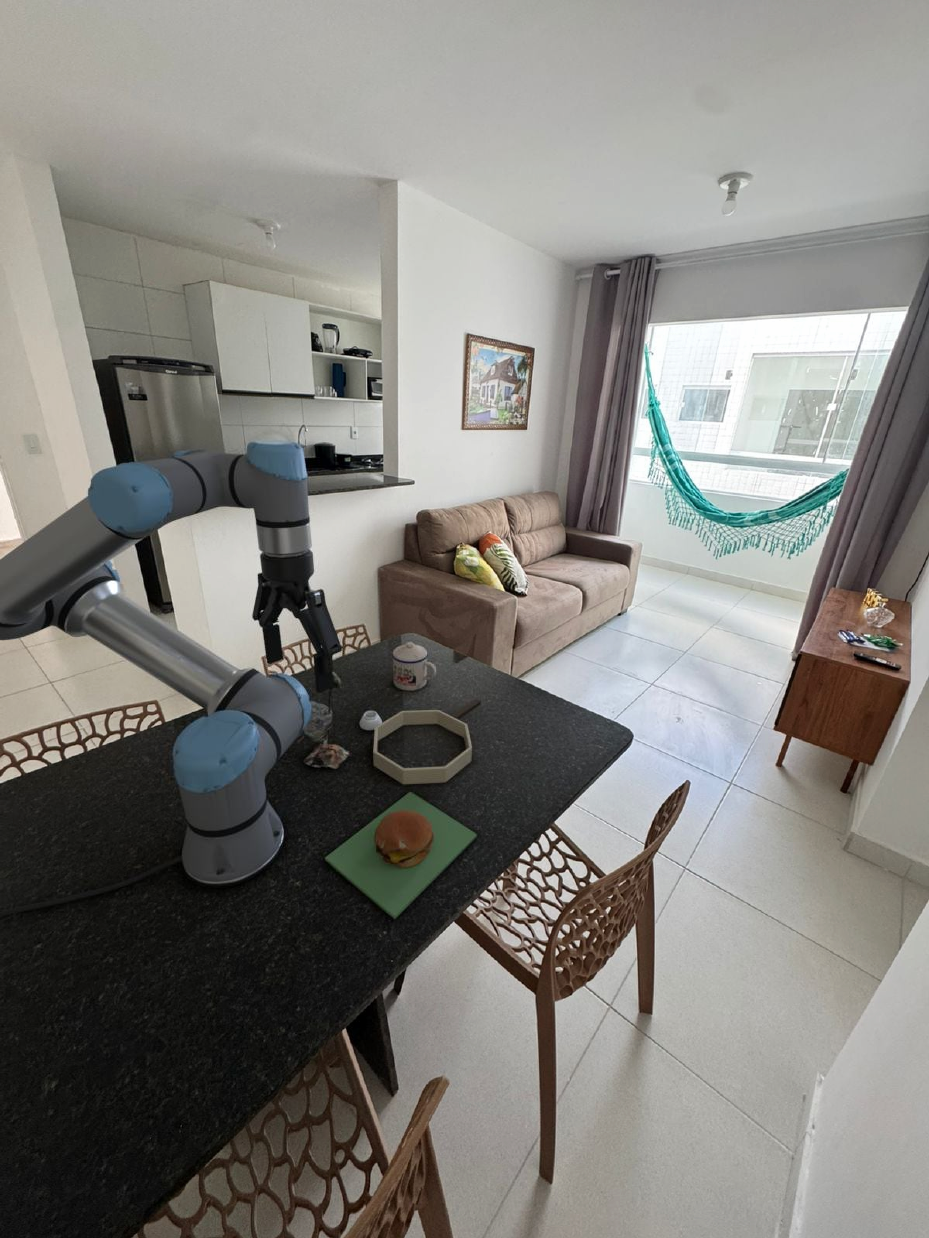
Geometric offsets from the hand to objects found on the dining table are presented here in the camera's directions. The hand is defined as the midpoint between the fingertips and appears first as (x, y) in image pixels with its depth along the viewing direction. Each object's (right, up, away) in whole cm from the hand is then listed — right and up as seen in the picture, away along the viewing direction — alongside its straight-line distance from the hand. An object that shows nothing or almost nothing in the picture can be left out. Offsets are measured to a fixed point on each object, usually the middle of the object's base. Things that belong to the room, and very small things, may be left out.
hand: (298, 674), depth 85 cm
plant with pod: (-2, -20, +22) cm, 29 cm away
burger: (+17, -29, +1) cm, 34 cm away
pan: (+21, -18, +29) cm, 40 cm away
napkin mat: (+17, -29, +1) cm, 34 cm away
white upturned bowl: (+6, -15, +33) cm, 37 cm away
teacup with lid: (+14, -8, +50) cm, 53 cm away
